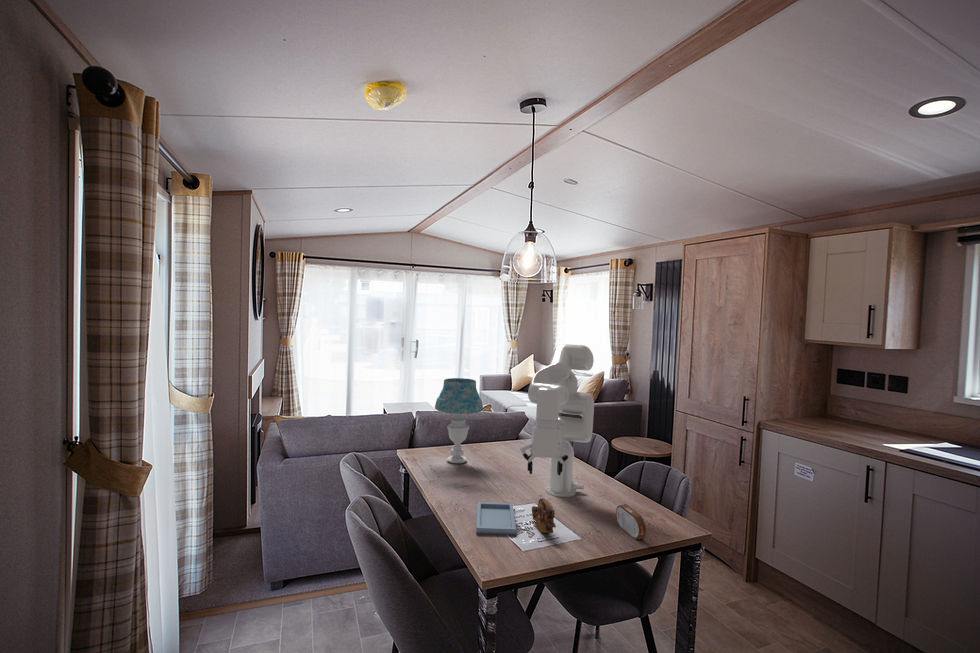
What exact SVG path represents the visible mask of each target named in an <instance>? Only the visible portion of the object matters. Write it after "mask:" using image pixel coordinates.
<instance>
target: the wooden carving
mask: <svg viewBox="0 0 980 653" xmlns="http://www.w3.org/2000/svg"><path fill="white" fill-rule="evenodd" d="M531 514H532V515H531V516H532V520H534V521H535V522H534V523H535V525H536V526H535V527H537V530H538V531H539V532H540V533H547V534H553V533H554V529H555V528H556V523H555V522H554V521H555V520H554V518H555V516H556V512H555V509H554V507H553V505H552V503H551V501H550V500H548V499H547V500H546V499H545V498H539V499H538V503H537V506H535V505H533V506H532V507H531ZM553 528H554V529H553Z"/></svg>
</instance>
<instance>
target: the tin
mask: <svg viewBox="0 0 980 653" xmlns="http://www.w3.org/2000/svg"><path fill="white" fill-rule="evenodd" d="M615 510H616V511H615V513H616V514H615V517H616V521H617V524H618V525H619V528H621V529H622V530H623V531H625V532H626V533H627V534H628V535H630V536H631V537H632V538H633V537H634V540H636V539H638V540H643V539H645V538H646V536H647V526H646V522H645V519H644V518H643V516H642V515H641V514H640V513H639V512H638V511H637V510H635V509H633V508H632V507H631V506H629V505H628V504H627V503H624V504H620V505H618V506H616V509H615Z"/></svg>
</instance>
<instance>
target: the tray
mask: <svg viewBox="0 0 980 653" xmlns="http://www.w3.org/2000/svg"><path fill="white" fill-rule="evenodd" d="M476 508H477V509H476V510H477V511H476V528H475V529H476V530H475V531H476V532H475V534H476V535H503V536H506V535H507V536H508V535H509V536H516V535H517V525H516V519H515V511H514V504H513V503H510V502H509V503H508V502H507V503H506V502H504V503H503V502H485V501H484V502H483V501H482V502H481V501H478V502H477V506H476Z"/></svg>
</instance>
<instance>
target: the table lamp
mask: <svg viewBox="0 0 980 653" xmlns="http://www.w3.org/2000/svg"><path fill="white" fill-rule="evenodd" d="M434 409H435V411H437V412H441V413H445V414H454V417H452V418H450V421H451V423H449V424H448V425H447V426H446V429H447V430H448V432H447V433H448V437H449V439H450V440H451V441H452V442H453V444H454V445H453V446H452V448H451V449H450V455H449V456H448V457H447V458H446V461H447V462H448V463H452V464H463V463H465V462H467V460H468V459H467V457H466V456H464V450H465V449H463V447H462V445H461V444H462V442H464V441H465V440H466V439H467V436H468V431H469V430H470V425H469V424H466V421H467V419H466V418H464V417H463V415H469V414H470V415H471V414H477V413H481V412H483V411H484V406H483V400H482V399H481V397H480V394H479V392H478V389H477V381H476V379H471V378H462V377H453V378H452V377H451V378H445V379H444V380H443V385H442V390H441V391H440V393H439V396H438V397H437V398H436V400H435V403H434Z"/></svg>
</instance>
